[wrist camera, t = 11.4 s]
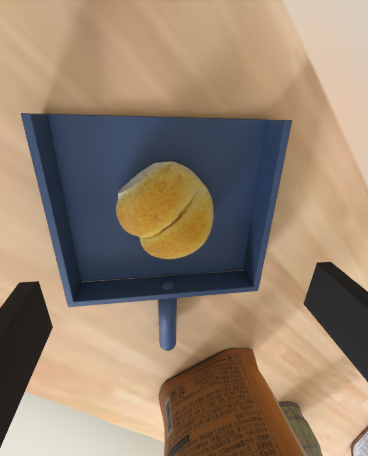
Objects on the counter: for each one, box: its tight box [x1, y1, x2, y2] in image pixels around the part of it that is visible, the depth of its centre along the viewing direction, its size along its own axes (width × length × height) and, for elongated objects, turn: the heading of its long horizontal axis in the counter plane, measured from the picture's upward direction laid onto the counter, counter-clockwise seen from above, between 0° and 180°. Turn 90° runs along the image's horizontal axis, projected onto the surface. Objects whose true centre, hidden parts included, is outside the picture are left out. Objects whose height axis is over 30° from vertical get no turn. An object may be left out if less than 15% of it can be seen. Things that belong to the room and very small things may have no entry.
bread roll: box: [116, 161, 214, 259], centre depth 21 cm, size 8×9×4 cm
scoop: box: [21, 113, 292, 351], centre depth 24 cm, size 26×19×4 cm
